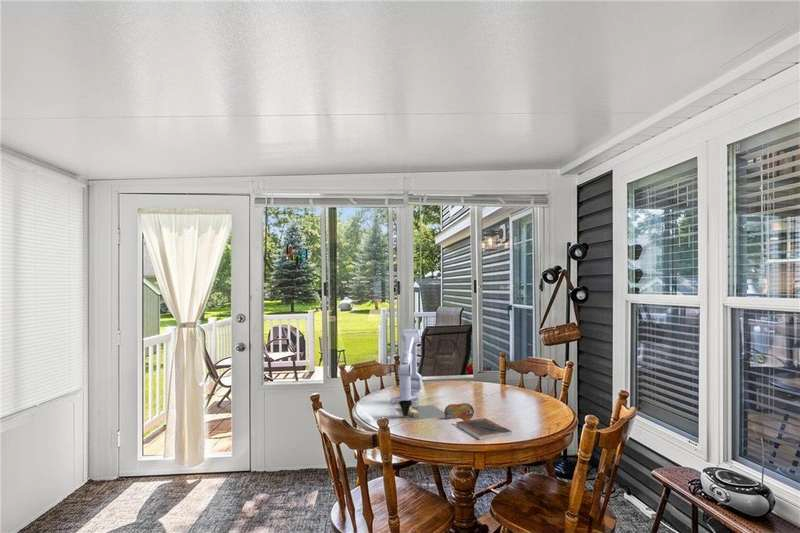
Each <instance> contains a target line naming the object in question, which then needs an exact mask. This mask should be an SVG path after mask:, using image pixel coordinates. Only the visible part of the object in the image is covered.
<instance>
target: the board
mask: <svg viewBox="0 0 800 533" xmlns="http://www.w3.org/2000/svg"><path fill="white" fill-rule="evenodd" d="M411 407H412V408H413V409H414V406H411ZM394 410H395V411H396V412H398V413H399V414H400V415H402V416H403V412H402V408H401V407H399V408H394ZM415 410H416V411H417V412H419V417H412V416H411V415H410V414H408V415H407V416H403V417H404V418H405V419H406V420H408V421H417V420H426V419H433V418H434V419H435V418H443V417H444V418H446V417H445V414H444V410H442V409H440V408H438V407H437V406H435V405H434V404H428V405H426V404H425V405H419V409H415Z"/></svg>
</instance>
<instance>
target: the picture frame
mask: <svg viewBox="0 0 800 533" xmlns="http://www.w3.org/2000/svg"><path fill="white" fill-rule="evenodd" d="M455 424H456V425H457V426H456V425H455V426H456V427H458V428H459V429H462V430H463V431H465V432H466V433H468V434H470V435H471V436H473V437H475V438H476V439H477V440H479V439H480V440H481V439H482V440H489V439H495V438H500V437H501V436H502V437H509V436H513V435H512V434H513V432H512V430H510V429H508V428H506V427H504V426H502V425H500V424H498V423H496V422H494V421H492V420H490V419H488V418H487V417H485V418H477V419H476V418H475V419H470V420H467V421H464V420H460V421H456V423H455ZM502 437H501V438H502ZM488 438H489V439H488Z"/></svg>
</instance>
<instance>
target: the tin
mask: <svg viewBox="0 0 800 533" xmlns="http://www.w3.org/2000/svg"><path fill="white" fill-rule="evenodd" d="M443 412H444V414H445V417H444V418H445V419H446V420H451V419H453V420H455V419H461V421H467V420H472V418H473V416H474V414H475V410H474V407H473V406H472V405H471V404H470V403H468V402H460V403H451V404H447V406H445V408H444V410H443Z"/></svg>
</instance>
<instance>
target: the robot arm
mask: <svg viewBox="0 0 800 533" xmlns="http://www.w3.org/2000/svg"><path fill="white" fill-rule="evenodd" d="M401 340H402V341H403V343H404V351H402V353H401V355H400V357H401V358H400V362H399V364H398V365H397V366H398V367H397V374H398V380H399V384H398V385H399V386H398V388H399V392H398V393H399V396H397V397H392V398H390V403H391V404H395V403H398V404H399V406H400V408H402V412H403V415H402V416H403V417H404V416H407V415H408V411H409V408H410V406H411V407H412V406H414V400H419V405H420V402H421V401H420V400H421V399H420V398H421V396H420V391H421V390H422V389H423V379H422V378H423V377H422V374H420V373H419V372H418V368H417V367H418V363H417V362H418V360H417V357H418V355H417V353H418V352H417V351H418V350H417V348H418V344H420V343H421V329H420V328H402V330H401Z"/></svg>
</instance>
